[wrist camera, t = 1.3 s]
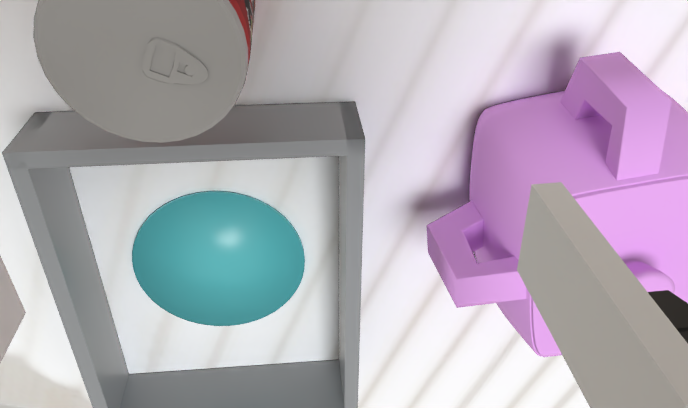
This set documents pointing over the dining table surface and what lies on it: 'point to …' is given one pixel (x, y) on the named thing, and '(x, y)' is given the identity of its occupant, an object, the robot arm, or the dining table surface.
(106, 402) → the grey square tray
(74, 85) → the canned food
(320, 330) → the dining table surface
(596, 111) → the teakettle
